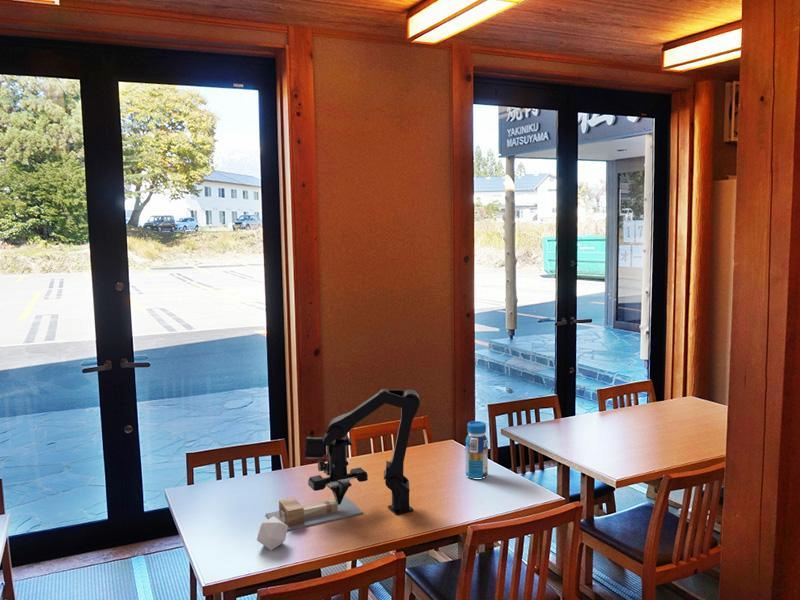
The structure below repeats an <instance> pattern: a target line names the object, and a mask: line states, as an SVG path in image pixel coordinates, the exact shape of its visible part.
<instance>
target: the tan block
mask: <svg viewBox="0 0 800 600" xmlns="http://www.w3.org/2000/svg"><path fill="white" fill-rule="evenodd" d="M302 506H303V505H302V504H300V502H299V501H298V500H297V499H296V498H295V497H290V498H284V499H280V500H278V509H279V510H278V511H279V516H280V517H281V511H283V510H284V511H285V517H286V524H287V526H288V527H290V526H295V525H299V524H304V508H303V507H302Z"/></svg>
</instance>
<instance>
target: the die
mask: <svg viewBox="0 0 800 600" xmlns="http://www.w3.org/2000/svg"><path fill="white" fill-rule="evenodd" d="M287 528H288V526H287V525H285V524H284V523H283V522H281V521H280V520H279V519H277V518H276V517H274V516H273V517H271V518H270V519H268V518H267V519H266V520H265V521H263V522H261V524H260V526H259V529H258V533H257V537H256V541H257V542H258V543H260V544H261V545H263V546H264V547H265V548H267V549H268V550H269V551H273V550H274V549H276V548H277V547H279V546H281V545H282V544H284V542H285V541H286V538H287V532H288V531H287Z"/></svg>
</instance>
